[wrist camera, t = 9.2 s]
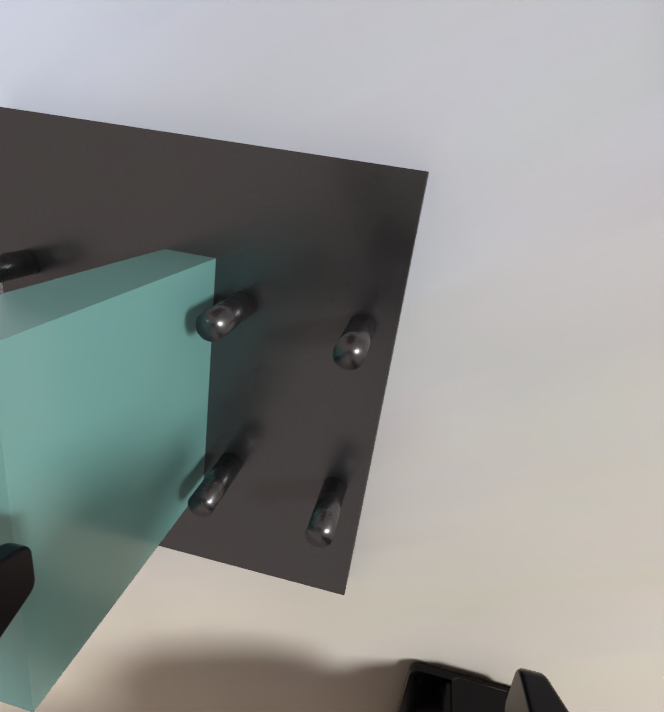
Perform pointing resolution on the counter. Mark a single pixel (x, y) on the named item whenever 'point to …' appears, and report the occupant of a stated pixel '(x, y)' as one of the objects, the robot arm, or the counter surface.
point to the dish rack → (240, 310)
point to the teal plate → (96, 443)
